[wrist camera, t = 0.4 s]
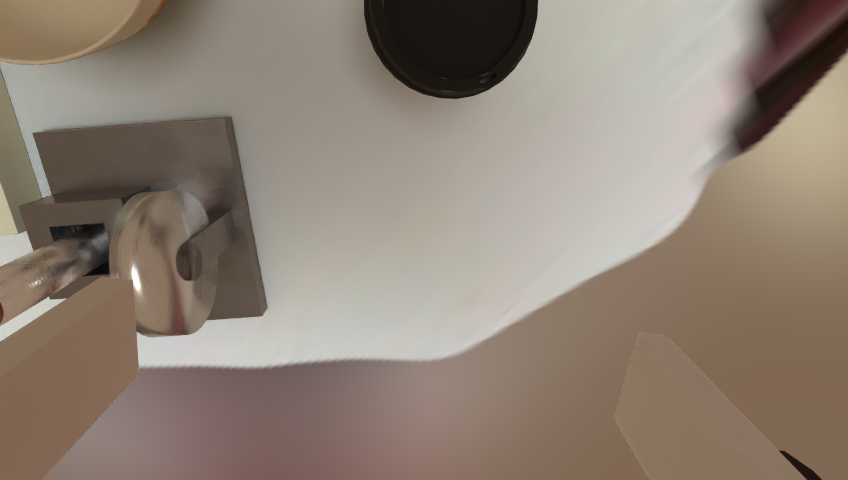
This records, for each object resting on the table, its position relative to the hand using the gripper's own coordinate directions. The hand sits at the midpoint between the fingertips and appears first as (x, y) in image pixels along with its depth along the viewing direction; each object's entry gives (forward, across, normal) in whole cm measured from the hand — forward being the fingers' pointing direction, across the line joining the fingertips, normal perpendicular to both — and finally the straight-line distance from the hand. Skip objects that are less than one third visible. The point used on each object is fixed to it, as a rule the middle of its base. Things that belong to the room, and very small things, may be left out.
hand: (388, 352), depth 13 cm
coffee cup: (+28, +1, +10) cm, 29 cm away
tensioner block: (+27, -19, -7) cm, 34 cm away
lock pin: (+26, -22, -8) cm, 35 cm away
